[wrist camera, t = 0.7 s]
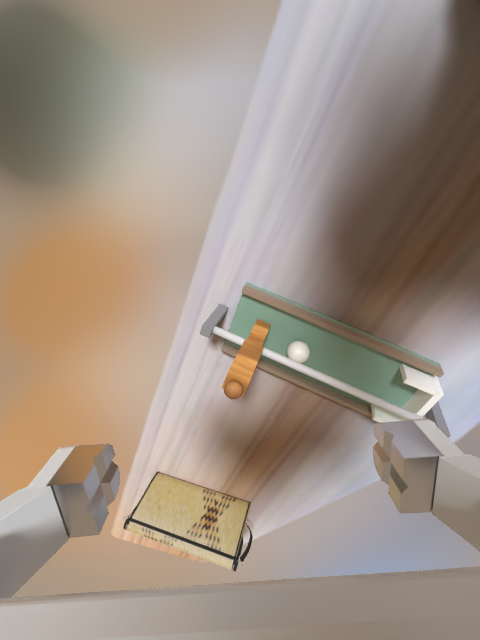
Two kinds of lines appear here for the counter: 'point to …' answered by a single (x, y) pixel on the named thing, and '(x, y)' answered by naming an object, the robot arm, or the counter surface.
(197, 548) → the clutch purse
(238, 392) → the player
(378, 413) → the pitch
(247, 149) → the counter surface
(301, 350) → the ball
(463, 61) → the counter surface
